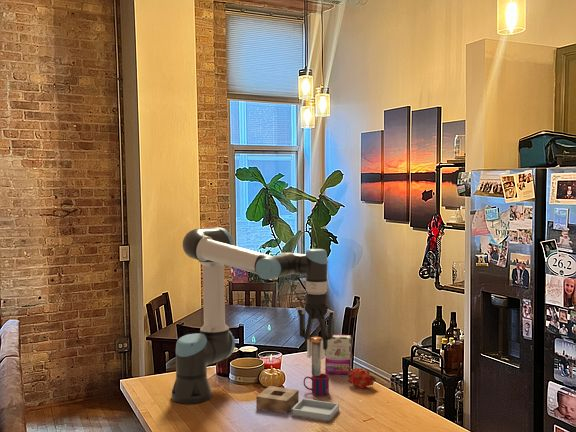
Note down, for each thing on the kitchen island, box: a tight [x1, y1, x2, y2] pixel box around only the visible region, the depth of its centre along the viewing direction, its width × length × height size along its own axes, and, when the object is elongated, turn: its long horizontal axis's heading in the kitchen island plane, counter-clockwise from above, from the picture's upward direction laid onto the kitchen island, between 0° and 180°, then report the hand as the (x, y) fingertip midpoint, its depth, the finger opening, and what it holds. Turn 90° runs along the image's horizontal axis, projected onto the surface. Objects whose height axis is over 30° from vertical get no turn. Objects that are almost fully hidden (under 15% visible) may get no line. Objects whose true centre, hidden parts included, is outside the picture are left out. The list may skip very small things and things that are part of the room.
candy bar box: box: [324, 334, 352, 376], centre depth 252 cm, size 11×5×16 cm, turn 81°
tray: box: [290, 398, 340, 423], centre depth 207 cm, size 14×11×2 cm
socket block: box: [255, 385, 300, 414], centre depth 215 cm, size 12×12×4 cm
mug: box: [303, 373, 330, 397], centre depth 228 cm, size 7×10×7 cm
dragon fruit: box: [346, 367, 377, 390], centre depth 234 cm, size 8×8×12 cm
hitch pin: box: [309, 336, 323, 376], centre depth 206 cm, size 4×4×13 cm
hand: (316, 357), depth 206 cm, fingers closed on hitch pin, 4 cm apart
